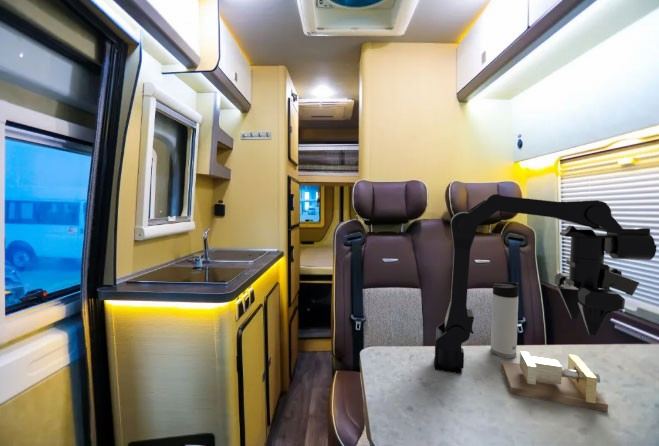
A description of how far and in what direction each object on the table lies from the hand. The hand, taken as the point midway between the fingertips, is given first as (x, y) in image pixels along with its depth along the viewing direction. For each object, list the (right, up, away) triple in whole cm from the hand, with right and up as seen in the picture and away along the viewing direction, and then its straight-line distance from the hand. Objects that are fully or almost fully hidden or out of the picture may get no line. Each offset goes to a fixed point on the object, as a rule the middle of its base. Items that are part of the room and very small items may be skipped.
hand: (582, 326), depth 68 cm
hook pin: (-5, -12, 0) cm, 13 cm away
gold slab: (-2, -13, -2) cm, 13 cm away
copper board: (-6, -14, +2) cm, 16 cm away
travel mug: (-7, -14, +18) cm, 24 cm away
